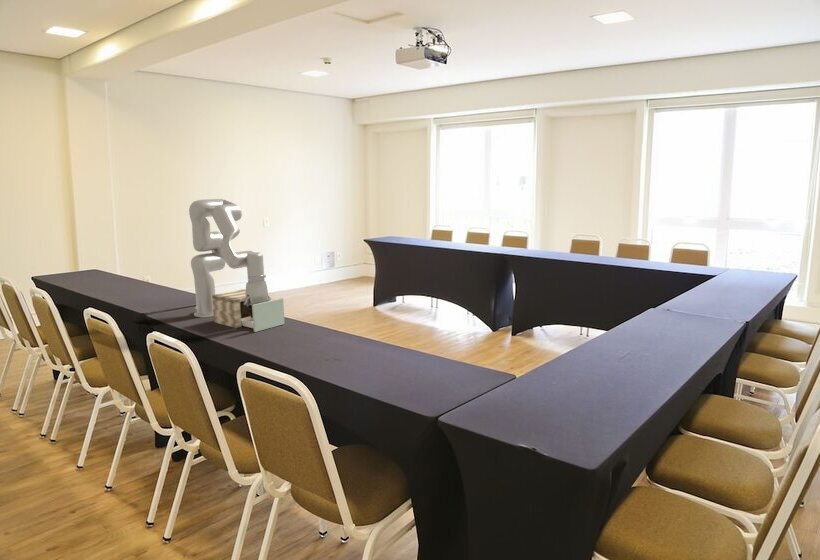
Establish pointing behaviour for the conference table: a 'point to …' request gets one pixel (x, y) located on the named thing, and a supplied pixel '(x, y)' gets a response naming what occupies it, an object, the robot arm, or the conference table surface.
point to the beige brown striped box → (230, 308)
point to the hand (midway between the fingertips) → (258, 316)
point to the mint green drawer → (265, 315)
